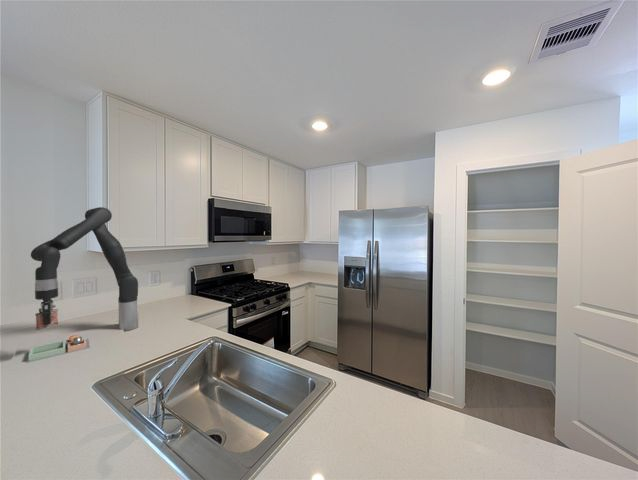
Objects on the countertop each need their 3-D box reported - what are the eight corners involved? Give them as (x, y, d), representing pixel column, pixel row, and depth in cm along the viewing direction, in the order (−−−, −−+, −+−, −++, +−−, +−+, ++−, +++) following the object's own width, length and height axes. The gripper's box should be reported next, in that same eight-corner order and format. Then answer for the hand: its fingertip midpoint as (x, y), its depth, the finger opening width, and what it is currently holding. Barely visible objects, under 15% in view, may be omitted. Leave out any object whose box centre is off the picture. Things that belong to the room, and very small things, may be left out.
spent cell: (80, 345, 128) (81, 335, 128) (81, 347, 126) (82, 336, 126) (72, 347, 126) (72, 336, 126) (73, 349, 124) (73, 338, 124)
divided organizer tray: (88, 341, 136) (88, 334, 136) (89, 350, 126) (89, 342, 126) (29, 354, 121) (29, 346, 121) (26, 365, 111) (25, 357, 111)
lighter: (39, 330, 116) (38, 309, 116) (33, 329, 117) (33, 308, 116) (60, 324, 124) (59, 304, 124) (55, 323, 125) (54, 303, 124)
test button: (78, 341, 132) (78, 334, 132) (79, 344, 130) (78, 336, 130) (69, 343, 130) (69, 336, 130) (69, 346, 127) (69, 338, 127)
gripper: (36, 286, 122) (37, 321, 123) (33, 292, 112) (34, 329, 113) (58, 284, 127) (59, 317, 128) (57, 289, 117) (58, 325, 118)
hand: (47, 322), depth 120 cm, fingers closed on lighter, 4 cm apart
